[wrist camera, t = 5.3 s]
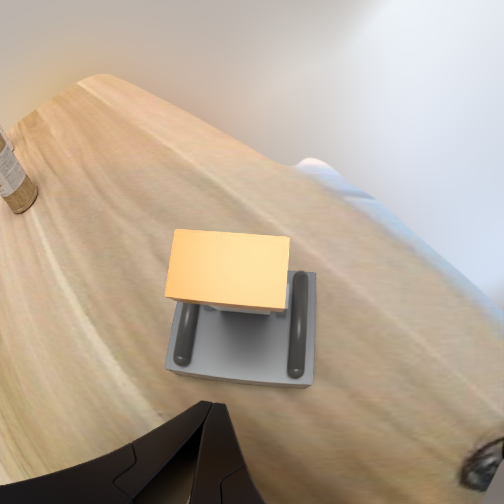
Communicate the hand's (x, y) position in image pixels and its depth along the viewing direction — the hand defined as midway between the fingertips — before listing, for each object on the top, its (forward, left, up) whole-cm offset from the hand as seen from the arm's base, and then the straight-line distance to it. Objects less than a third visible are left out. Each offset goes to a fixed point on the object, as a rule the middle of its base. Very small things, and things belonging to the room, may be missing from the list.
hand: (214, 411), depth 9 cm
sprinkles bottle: (-1, +34, -11) cm, 36 cm away
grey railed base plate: (+5, +3, -11) cm, 12 cm away
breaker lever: (+6, +4, -7) cm, 10 cm away
